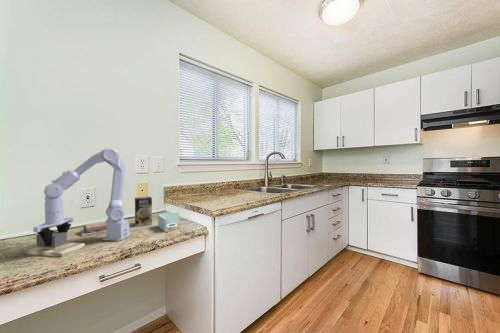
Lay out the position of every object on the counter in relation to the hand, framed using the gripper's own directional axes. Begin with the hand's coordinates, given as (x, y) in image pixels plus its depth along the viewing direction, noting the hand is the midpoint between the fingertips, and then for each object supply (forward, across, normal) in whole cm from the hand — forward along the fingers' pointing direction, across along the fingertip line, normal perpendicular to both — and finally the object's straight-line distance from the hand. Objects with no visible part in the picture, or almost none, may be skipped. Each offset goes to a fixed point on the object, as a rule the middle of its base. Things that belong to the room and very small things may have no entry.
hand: (55, 243), depth 92 cm
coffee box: (+3, -39, +14) cm, 42 cm away
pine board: (+3, 0, 0) cm, 3 cm away
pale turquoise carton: (+4, -37, +34) cm, 50 cm away
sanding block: (+2, 0, -2) cm, 2 cm away
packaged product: (+4, -26, -2) cm, 26 cm away
